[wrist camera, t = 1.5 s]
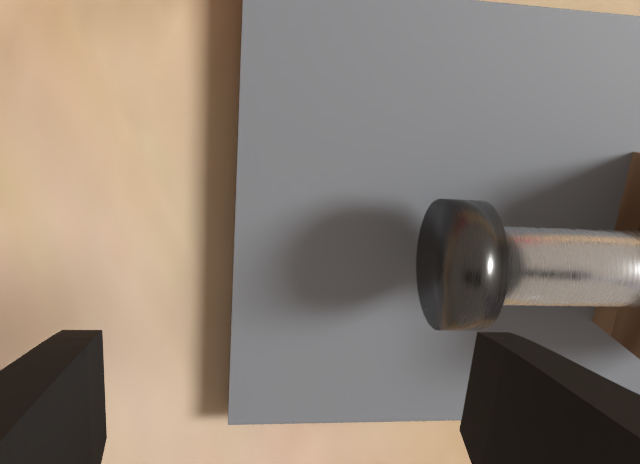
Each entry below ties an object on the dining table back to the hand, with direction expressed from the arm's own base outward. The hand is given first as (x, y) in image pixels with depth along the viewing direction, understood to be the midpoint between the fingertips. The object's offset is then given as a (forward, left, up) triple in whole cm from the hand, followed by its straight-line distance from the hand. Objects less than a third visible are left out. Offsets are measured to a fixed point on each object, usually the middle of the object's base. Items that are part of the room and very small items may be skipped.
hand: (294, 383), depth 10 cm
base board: (0, -9, -9) cm, 13 cm away
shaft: (0, -10, -8) cm, 12 cm away
